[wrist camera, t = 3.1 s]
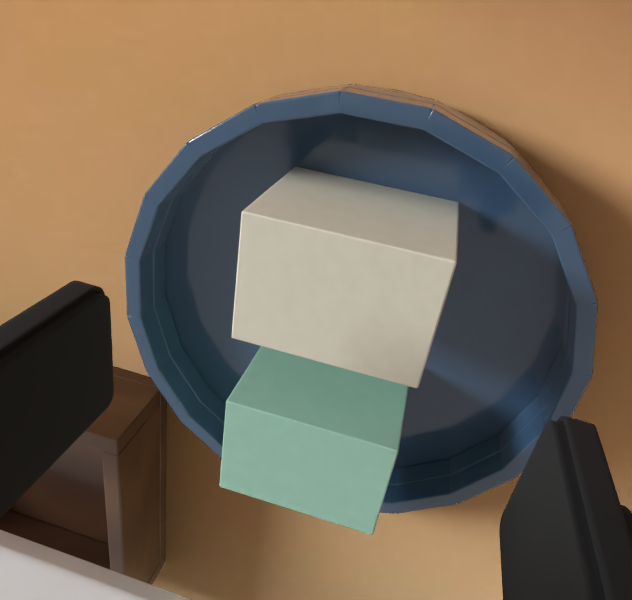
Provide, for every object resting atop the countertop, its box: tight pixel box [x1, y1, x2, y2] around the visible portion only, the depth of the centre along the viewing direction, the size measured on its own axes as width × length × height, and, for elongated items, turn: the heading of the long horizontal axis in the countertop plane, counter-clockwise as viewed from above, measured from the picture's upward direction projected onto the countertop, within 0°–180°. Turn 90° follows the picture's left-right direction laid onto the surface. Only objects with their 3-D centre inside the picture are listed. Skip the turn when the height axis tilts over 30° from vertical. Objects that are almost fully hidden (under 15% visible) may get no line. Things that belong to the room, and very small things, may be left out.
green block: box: [219, 346, 409, 535], centre depth 19 cm, size 4×6×5 cm
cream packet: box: [232, 167, 459, 388], centre depth 16 cm, size 4×6×5 cm
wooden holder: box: [0, 367, 166, 585], centre depth 27 cm, size 14×15×4 cm
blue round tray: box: [125, 84, 598, 514], centre depth 19 cm, size 16×16×2 cm
